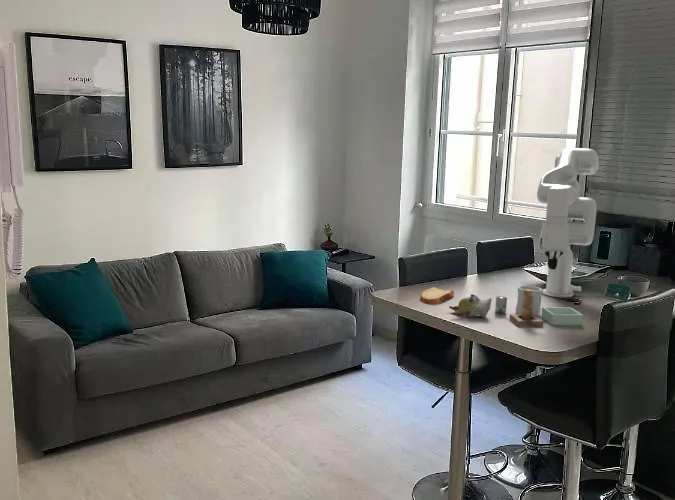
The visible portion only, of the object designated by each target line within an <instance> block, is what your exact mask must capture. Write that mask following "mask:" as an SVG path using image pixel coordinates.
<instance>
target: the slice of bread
mask: <svg viewBox="0 0 675 500" xmlns="http://www.w3.org/2000/svg"><path fill="white" fill-rule="evenodd" d="M454 295H455V291H454V290H453V289H452V288H451V289H450V290H449V289H448V290H444V289H443V290H442V289H440V288H438V287H435V286H434V287H433V286H432V287H430V288H426V289H425V290H423V291H421V293H420V301H421V302H422V303H424V304H428V305H433V306H437V305H439V304H440V305H441V304H443V303H445V302H446V301H448V300H450V299H452V297H454Z"/></svg>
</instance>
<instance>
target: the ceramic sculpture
mask: <svg viewBox="0 0 675 500" xmlns="http://www.w3.org/2000/svg"><path fill="white" fill-rule="evenodd" d="M491 304H492V298H484V299H480V298H479V297H478V296H477V295H476V294H470V297H469V296H467V297H466V296H464V297H462V298H461V299H460V300H459V301H458V305H455V306H452V305H451V306H450V305H449V306H448V308H449V309H451V310H453V311H454V312H451V315H453V316H456V317H457V318H464V317H466V318H472V317H477V316H480V317H481V318H486V317H487V315H488V313H489V311H490V309H491Z"/></svg>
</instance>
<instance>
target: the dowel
mask: <svg viewBox="0 0 675 500" xmlns="http://www.w3.org/2000/svg"><path fill="white" fill-rule="evenodd" d="M533 296H534V290H530V289H524V290H523V301H522V312H521V319H522V320H531V318H532V307H533Z"/></svg>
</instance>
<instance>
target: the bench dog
mask: <svg viewBox="0 0 675 500" xmlns="http://www.w3.org/2000/svg"><path fill="white" fill-rule="evenodd" d="M507 302H508V297H506V296H502V295H497V296H496V297H495V308H494V313H495V314H497V315H506V314H507V304H508V303H507Z"/></svg>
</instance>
